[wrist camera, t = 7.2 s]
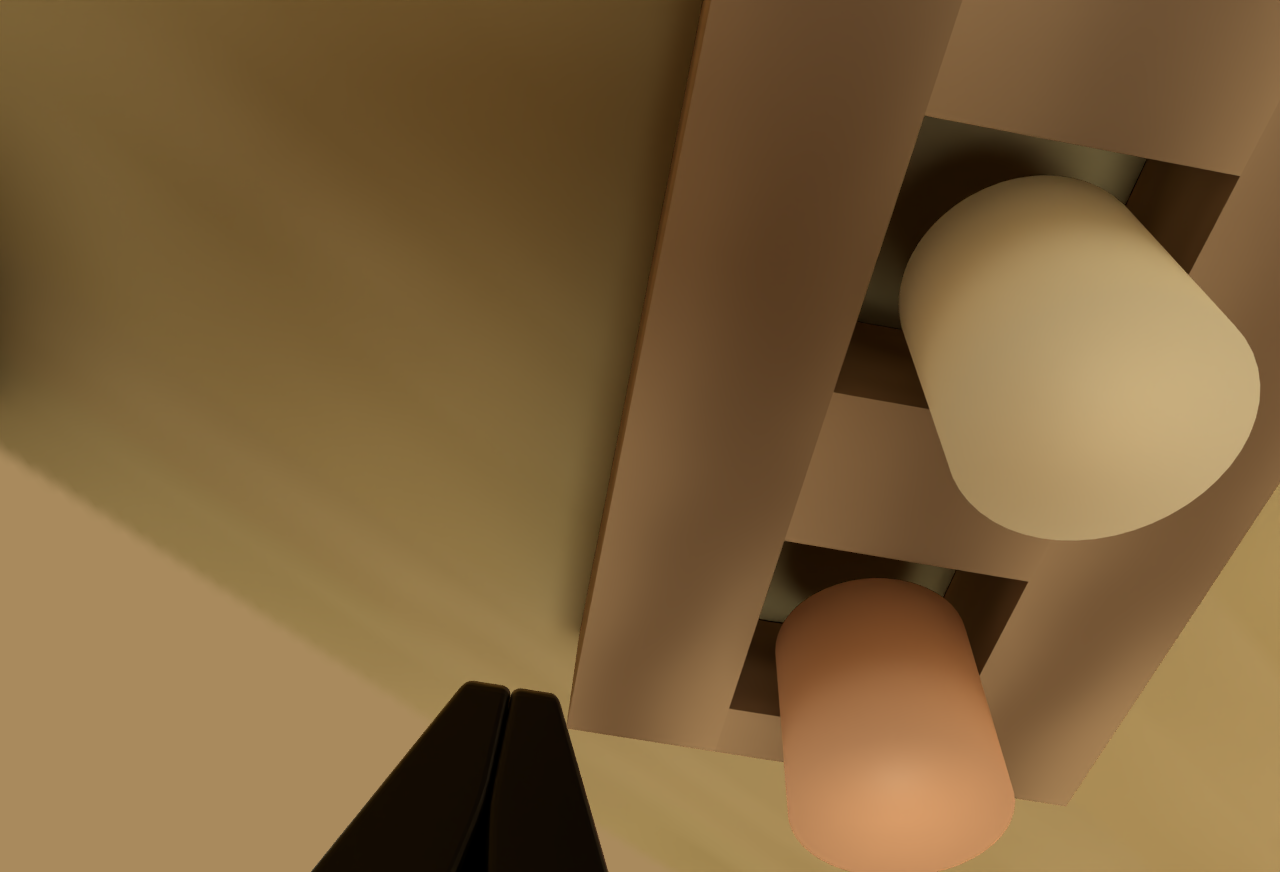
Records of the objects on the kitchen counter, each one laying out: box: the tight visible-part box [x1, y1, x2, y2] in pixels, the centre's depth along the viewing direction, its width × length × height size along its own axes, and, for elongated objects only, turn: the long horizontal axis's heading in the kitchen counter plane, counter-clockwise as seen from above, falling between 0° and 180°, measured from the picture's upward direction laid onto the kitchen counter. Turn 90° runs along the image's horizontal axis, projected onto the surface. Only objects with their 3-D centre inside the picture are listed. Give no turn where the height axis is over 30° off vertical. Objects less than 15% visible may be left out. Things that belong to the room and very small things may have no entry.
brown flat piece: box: [567, 0, 1280, 806], centre depth 18 cm, size 12×25×3 cm, turn 170°
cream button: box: [899, 175, 1260, 541], centre depth 15 cm, size 4×4×4 cm
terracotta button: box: [775, 578, 1015, 872], centre depth 20 cm, size 4×4×4 cm
